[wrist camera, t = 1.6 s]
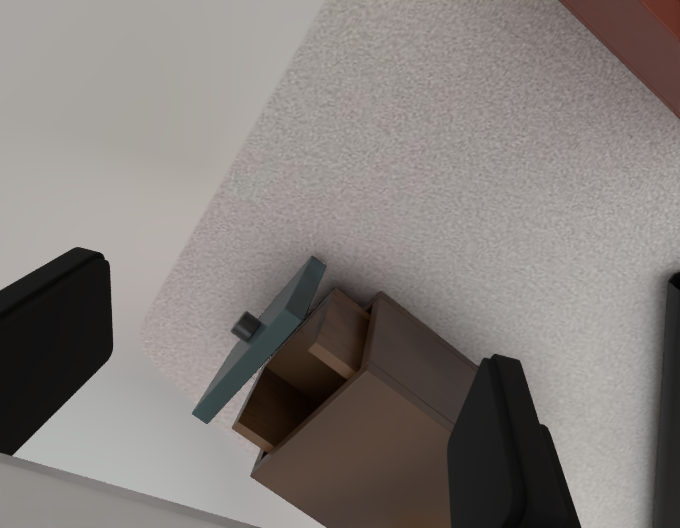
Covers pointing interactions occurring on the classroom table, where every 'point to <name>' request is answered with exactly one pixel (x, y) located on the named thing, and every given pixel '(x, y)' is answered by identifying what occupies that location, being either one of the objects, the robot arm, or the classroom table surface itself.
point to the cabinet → (378, 433)
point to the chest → (639, 39)
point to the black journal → (669, 418)
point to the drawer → (289, 359)
